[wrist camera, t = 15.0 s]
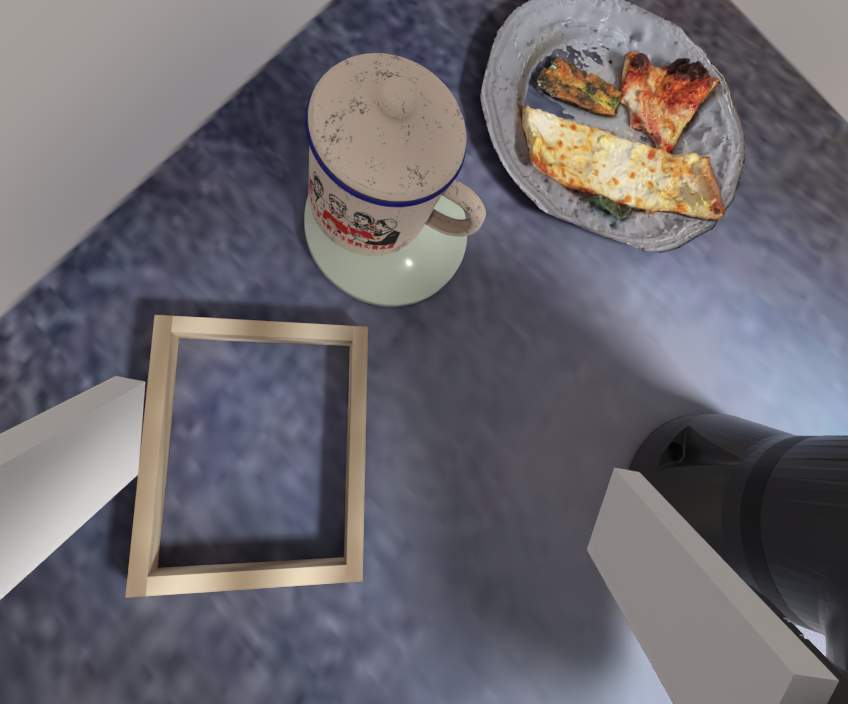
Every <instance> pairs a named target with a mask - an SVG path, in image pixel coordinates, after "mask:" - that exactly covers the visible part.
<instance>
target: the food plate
mask: <svg viewBox="0 0 848 704" xmlns="http://www.w3.org/2000/svg"><path fill="white" fill-rule="evenodd" d="M512 13H513V14H512ZM512 13H511V15H509V17H508V19H506V21H505V22H504V24H503V26H501V28H500V30H499V29H498V31H497V37H495V38H494V43H493V45H492V48H491V51H490V56H489V59H488V63H487V66H486V70H485V71H486V72H485V74H484V78H483V79H484V80H483V83H482V84H483V85H482V87H481V96H480V97H481V105H482V108H483V111H484V112H483V114H484V116H485V120H487V124H486V125H487V127H488V132H489V133H490V137H491V141H492V142H493V146H494V149H495V150H496V152H497V155H498V156H499V158H500V161H501V162H503V166H504V167H505V168H506V169H505V170H507V172H508V173H509V175H510V176H511V177H512V179H513V180H514V181H515V183H517V185H518V186H519V187H520V189H521V190H522V191H523V192H524V193H526V195H527V196H528V197H529V198H530V199H531V200H532V201H533V202H534V203H535V204H536V205H537V206H538V207H539V209H540V210H541V211H544V212H545V213H546V214H547V213H549V215H552V214H553V215H552V216H555V217H557V218H558V219H562V220H564V221H567V222H570V223H573V224H575V225H577V226H580V227H582V228H583V229H586V230H589V231H591V232H594V233H597V234H599V235H602V236H605V237H609V238H611V239H613V240H616V241H618V242H621V243H625V244H627V245H629V246H631V247H632V246H633V247H635V248H637V249H638V250H639V249H641V248H642V251H647V252H648V251H649V252H650V251H651V252H652V251H653V252H659V253H661V252H665V251H671V250H674V249H677V248H680V247H681V246H683V245H685V244H686V243H689V242H690V241H691V240H693V239H695V238H696V237H698V236H700V235H701V234H702V235H703V233H706V232H708V231H709V230H711V229H713V228H714V227H715V226H716V223H717V222H718V219H720V218H722V217H724V214H725V211H726V210H727V208H728V207H729V206H730V204H731V203H732V201H733V200H734V196H735V191H736V190H737V188H738V185H739V179H740V174H741V172H742V169H743V164H744V160H745V158H744V157H745V156H744V155H745V153H744V149H745V147H744V134H743V128H742V124H741V121H740V118H739V115H738V112H737V109H736V106H735V103H734V100H733V97H732V94H731V90H730V88H729V86H728V83H727V81H726V79H725V77H724V76H723V75H722V74H721V72H720V71H719V70H718V68H717V67H715V66H714V65H712V63H710V61H709V59H707V57H706V54H705V53H704V50H703V49H701V48H700V47H699V46H696V44H694V43H693V42H692V41H691V40H690V39H689V38H688V37H687V35H686V34H685V33H684V31H683V30H682V29H681V28H680V27H678V26H677V25H675V24H673V23H672V24H670V23H671V22H669V21H667V20H664V19H663V18H661V17H659V16H656V14H655V15H654V13H652V12H651V13H650V12H648V11H647V10H645V11H644V9H642V8H641V7H639V6H637V5H634V4H632V5H631V4H630V2H627V1H626V2H625V0H531V1H530V0H529V1H528V2H526V3H524V4H522V6H521V7H520V6H519V7H517V8H516V10H514V11H513V12H512ZM584 43H585V44H587V46H586V45H584ZM566 45H568V46H570V45H571V46H572V48H573V49H575V50H577V51H580V52H581V54H582V57H583V58H584V61H581V57H579V58H578V60H580V61H581V63H582V64H584V63H585V64H586V65H589V66H590V67H587V68H585V67H584V65H583V67H584V68H583V69H579V68H580V66H577V65H576V66H575V64H576V63H577V61H576V59H574V62H575V64H573V63H571V62H569V61H568V60H565V59H563V58H557V59H555V60H554V61H551V64H552V65H551V66H549V68H543V70H542V71H541V72H540V75H539V76H538V78H537V84H536V85H537V87H536V89H537V91H538V92H539V93H541V94H543V96H545V97H547V98H548V99H550V100H551V101H553V102H557V103H559V104H560V105H561V106H562V107H563V108H565V110H564V111H563V113H565V114H568V113H569V114H570V115H573V116H574V118H576V119H573V120H571V119H564V118H561V117H557V116H556V115H554V114H550V113H548V112H544V111H542V110H541V109H532V108H530V107H529V106H528V105H526V106H525V107H524V100H525V97H526V94H527V89H528V84H529V81H530V79H531V73H532V70H533V69H534V68H535V67H536V65H537V64H538V62H539V61H540V62H541V61H542V60H543V58H544V56H550V54H552V51H553V50H554V49H557V48H559V49H562V48H563V51H566V52H567V50H566ZM602 45H603V46H605V47H607V48H609V49H610V50H607V49H606V48H602V47H601V46H602ZM587 47H588V48H589V49H588V48H587ZM590 47H598V49H595V50H593V49H591V48H590ZM613 48H614V49H613ZM586 49H588V50H589V51H590V52H593V51H595V52H597V54H598V55H600V56H601V59H602V60H603V67H602V65H599V64H597V63H595V62H594V61H593V60H592V59H591V58H590V57H586V56H585V55H584V54H583V52H582V51H581V50H586ZM602 50H604V51H602ZM614 53H615V54H614ZM568 54H569V53H568ZM575 55H576V56H577V54H576V53H575ZM602 55H603V56H604V57H602ZM556 56H558V53H556ZM567 57H568V56H567ZM609 60H612V64H610V63H608V61H609ZM619 60H620V61H619ZM595 61H596V59H595ZM608 67H609V68H608ZM569 111H570V112H569ZM559 116H560V115H559ZM640 136H643V137H645V138H646V141H642V140H641V139H640Z"/></svg>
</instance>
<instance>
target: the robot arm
mask: <svg viewBox="0 0 848 704" xmlns="http://www.w3.org/2000/svg"><path fill="white" fill-rule="evenodd" d="M144 393H145V381H139V380H134V379H128V378H123V377H118V376H115V377H113V378H111V379H109V380H107V381H105V382H103V383H101V384H99V385H97V386H95V387H93V388H91V389H89V390H87V391H85V392H83V393H81V394H79V395H77V396H75V397H73V398H71V399H69V400H67V401H65V402H63V403H61V404H59V405H57V406H55V407H53V408H51V409H49V410H47V411H45V412H43V413H41V414H39V415H37V416H35V417H33V418H31V419H29V420H27V421H25V422H23V423H21V424H19V425H17V426H15V427H13V428H11V429H9V430H7V431H5V432H3V433H1V434H0V600H1V599H2V598H3V597H4V596H5V595H6V594H7V593H8V592H9V591H10V590H12V589H13V588H14V587H15V586H16V585H17V584H18V583H19V582H20V581H21V580H23V579H24V578H25V577H26V576H27V575H28V574H29V573H30V572H31V571H32V570H34V569H35V568H36V567H37V566H38V565H39V564H40V563H41V562H42V561H43V560H45V559H46V558H47V557H48V556H49V555H50V554H51V553H52V552H53V551H54V550H56V549H57V548H58V547H59V546H60V545H61V544H62V543H63V542H64V541H65V540H67V539H68V538H69V537H70V536H71V535H72V534H73V533H74V532H75V531H76V530H78V529H79V528H80V527H81V526H82V525H83V524H84V523H85V522H86V521H87V520H89V519H90V518H91V517H92V516H93V515H94V514H95V513H96V512H97V511H98V510H100V509H101V508H102V507H103V506H104V505H105V504H106V503H107V502H108V501H109V500H111V499H112V498H113V497H114V496H115V495H116V494H117V493H118V492H119V491H120V490H122V489H123V488H124V487H125V486H126V485H127V484H128V483H129V482H130V481H131V480H133V479H134V478H135V477H136V476H137V475H138V470H139V457H140V444H141V431H142V418H143V405H144ZM587 551H588V553H589V554H590V556H591V558H592V560H593V562H594V563H595V565H596V567H597V569H598V571H599V572H600V574H601V576H602V578H603V579H604V581H605V583H606V585H607V587H608V588H609V590H610V592H611V594H612V595H613V597H614V599H615V601H616V603H617V604H618V606H619V608H620V610H621V611H622V613H623V615H624V617H625V619H626V620H627V622H628V624H629V626H630V628H631V629H632V631H633V633H634V635H635V636H636V638H637V640H638V642H639V644H640V645H641V647H642V649H643V651H644V652H645V654H646V656H647V658H648V660H649V661H650V663H651V665H652V667H653V669H654V670H655V672H656V674H657V676H658V677H659V679H660V681H661V683H662V685H663V686H664V688H665V690H666V692H667V693H668V695H669V697H670V699H671V701H672V702H673V704H848V436H796V435H793V434H789V433H786V432H783V431H780V430H777V429H774V428H771V427H767V426H764V425H761V424H758V423H755V422H752V421H748V420H745V419H742V418H739V417H735V416H731V415H724V414H702V415H688V416H683V417H679V418H676V419H673V420H671V421H669V422H667V423H665V424H663V425H662V426H660V427H659V428H658V429H656V430H655V431H654V432H653V433H652V434H651V435H650V436H649V437H648V438H647V439H646V440H645V442H644V443H643V444H642V446H641V447H640V449H639V450H638V452H637V454H636V456H635V458H634V460H633V462H632V465H631V467H630V470H625V469H620V468H614V470H613V473H612V476H611V479H610V482H609V485H608V488H607V491H606V494H605V497H604V500H603V502H602V505H601V508H600V511H599V514H598V517H597V520H596V523H595V526H594V529H593V532H592V535H591V538H590V541H589V544H588V547H587ZM795 625H799V626H802V627H804V628H807V629H810V630H813V631H815V632H818V633H821V634H823V635H825V636H826V657H825V656H824V655H823V654H822V653H821V652H820V651H819V650H818V649H817V648H816V647H815V646H814V645H813V644H812V643H811V642H810V641H809V640H808V639H804V635H803V634H802V633H801V632H800V631H799V629H798V628H797V627H796V626H795Z"/></svg>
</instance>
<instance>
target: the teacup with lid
mask: <svg viewBox="0 0 848 704" xmlns="http://www.w3.org/2000/svg"><path fill="white" fill-rule="evenodd" d="M305 127H306V134H307V139H308V143H309V191H308V192H309V204H310V208H311V211H312V214H313V217H314V219H315V221H316V222H317V224H318V226H319V227H320V229H321V230H322V231H323V232H324V233H325V235H326V236H327V237H328V238H330V239H331V240H332V241H333V242H334V243H336V244H337V245H339V246H340V247H342V248H344V249H346V250H349V251H351V252H354V253H357V254H361V255H367V256H382V255H387V254H391V253H394V252H397V251H399V250H401V249H403V248H405V247H406V246H408V245H409V244H410V243H411V242H412V241H414V240H415V239H416V237H417V236H418V235H419V234H420V232H421V231H422V229H423V227H424V225H427V226H429V227H431V228H432V229H434V230H436V231H438V232H440V233H443V234H446V235H449V236H455V237H463V236H468V235H471V234H473V233H475V232H476V231H477V230H478V229H479V228H480V227H481V225H482V223H483V222H484V219H485V216H486V210H485V207H484V205H483V203H482V201H481V199H480V198H479V197H478V196H477V195H476V194H475V193H474V192H473V191H472V190H471V189H469V188H468V187H467V186H465V185H464V184H462V183H460V182H459V181H457V180H455V179H456V177H457V176H458V174H459V172H460V170H461V167H462V165H463V162H464V158H465V153H466V128H465V123H464V119H463V116H462V113H461V110H460V108H459V106H458V104H457V102H456V100H455V98H454V96H453V95H452V93H451V92H450V91H449V89H448V88H447V87H446V86H445V85H444V83H443V82H442V81H441V80H440V79H439V78H438V77H436V76H435V75H434V74H433V73H431V72H430V71H429V70H427V69H426V68H424V67H423V66H421V65H419V64H417V63H415V62H413V61H411V60H408V59H406V58H403V57H400V56H396V55H391V54H383V53H369V54H362V55H357V56H354V57H351V58H348V59H346V60H344V61H342V62H340V63H338V64H337V65H335V66H334V67H332V68H331V69H330V70H329V71H327V72H326V73H325V74H324V75H323V77H322V78H321V79H320V80H319V82H318V83H317V85H316V86H315V88H314V90H313V91H312V94H311V96H310V98H309V101H308V104H307V109H306V117H305ZM441 195H443V196H444V197H446V198H447V199H449V200H451V201H452V202H454V203H456V204H457V205H458V206H460V207H461V208H462V209H463V210H464V211H465V212H466V213H467V214H468V216H469V219H454V218H451V217H448V216H446V215H444V214H442V213H440V212H438V211H437V210H435V209H434V208H435V206H436V204H437V202H438V201H439V199H440V197H441Z"/></svg>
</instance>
